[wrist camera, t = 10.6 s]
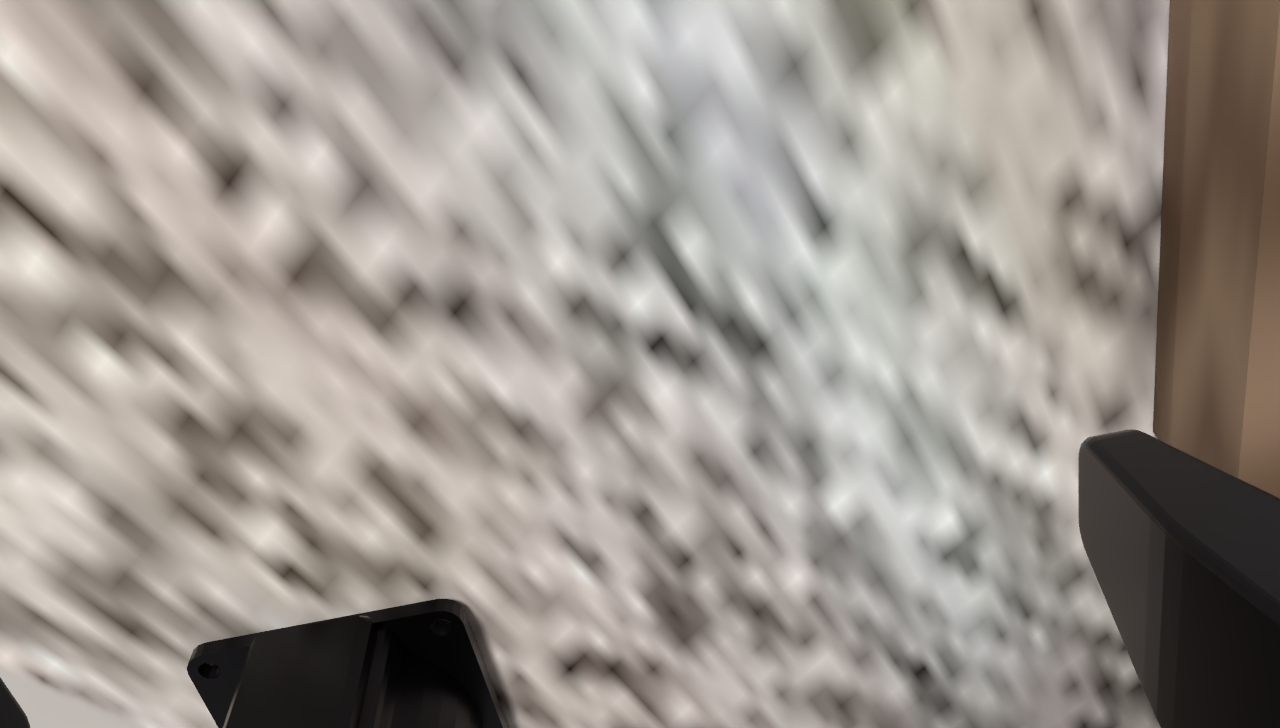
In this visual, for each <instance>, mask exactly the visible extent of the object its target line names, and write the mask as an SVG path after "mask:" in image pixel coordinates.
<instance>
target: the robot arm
mask: <svg viewBox="0 0 1280 728" xmlns="http://www.w3.org/2000/svg"><path fill="white" fill-rule="evenodd" d="M1079 527H1080V533H1081V538H1082V542H1083V545H1084V548H1085V551H1086V553H1087V556H1088V558H1089V561H1090V563H1091V565H1092V568H1093V570H1094V572H1095V575H1096V577H1097V580H1098V582H1099V584H1100V587H1101V589H1102V592H1103V594H1104V596H1105V599H1106V601H1107V604H1108V606H1109V608H1110V611H1111V613H1112V615H1113V618H1114V620H1115V623H1116V625H1117V627H1118V630H1119V632H1120V635H1121V637H1122V639H1123V642H1124V644H1125V647H1126V649H1127V651H1128V654H1129V656H1130V658H1131V661H1132V663H1133V666H1134V668H1135V670H1136V673H1137V675H1138V678H1139V680H1140V682H1141V685H1142V687H1143V689H1144V692H1145V694H1146V696H1147V699H1148V701H1149V703H1150V705H1151V708H1152V710H1153V712H1154V714H1155V717H1156V719H1157V721H1158V723H1159V724H1160V726H1161V728H1280V498H1278V497H1276V496H1274V495H1272V494H1270V493H1268V492H1266V491H1264V490H1262V489H1260V488H1258V487H1256V486H1253V485H1251V484H1249V483H1247V482H1245V481H1243V480H1241V479H1239V478H1237V477H1235V476H1233V475H1231V474H1229V473H1227V472H1224V471H1222V470H1220V469H1218V468H1216V467H1214V466H1212V465H1210V464H1208V463H1206V462H1204V461H1202V460H1200V459H1198V458H1196V457H1193V456H1191V455H1189V454H1187V453H1185V452H1183V451H1181V450H1179V449H1177V448H1175V447H1173V446H1171V445H1169V444H1167V443H1165V442H1162V441H1160V440H1158V439H1156V438H1154V437H1152V436H1150V435H1148V434H1146V433H1144V432H1141V431H1138V430H1124V431H1119V432H1113V433H1108V434H1103V435H1098V436H1093V437H1089V438H1087V439H1086V440H1085V441H1084V442H1083V443H1082V444H1081V447H1080V451H1079ZM438 619H446V620H448V621H450V622H449V623H439V622H437V621H435V620H438ZM207 663H213V664H215V665H217V666H211V665H209V664H207ZM187 671H188V674H189V676H190V678H191V680H192V682H193V683H194V685H195V687H196V689H197V690H198V692H199V694H200V696H201V697H202V699H203V701H204V703H205V705H206V706H207V708H208V710H209V712H210V713H211V715H212V717H213V719H214V720H215V722H216V724H217V726H218V728H509V727H508V725H507V722H506V719H505V717H504V714H503V711H502V709H501V706H500V703H499V701H498V698H497V695H496V693H495V690H494V687H493V685H492V682H491V679H490V677H489V674H488V671H487V669H486V666H485V663H484V661H483V658H482V655H481V653H480V650H479V647H478V645H477V642H476V639H475V637H474V634H473V631H472V629H471V626H470V623H469V621H468V618H467V615H466V613H465V611H464V609H463V608H462V606H461V605H460V604H458V603H457V602H455V601H453V600H449V599H435V600H430V601H425V602H419V603H414V604H409V605H404V606H398V607H393V608H388V609H382V610H377V611H372V612H366V613H361V614H356V615H350V616H345V617H340V618H334V619H329V620H324V621H318V622H313V623H308V624H303V625H297V626H292V627H287V628H281V629H276V630H271V631H265V632H260V633H255V634H249V635H244V636H239V637H233V638H228V639H223V640H217V641H212V642H207V643H204V644H201V645H198V646H197V647H196V648H195V649H194V650H193V653H192V655H191V658H190V660H189V663H188V667H187ZM0 728H30V725H29V722H28V719H27V716H26V715H25V713H24V711H23V710H22V708H21V707H20V705H19V704H18V702H17V701H16V700H15V698H14V697H13V696H12V694H11V692H10V691H9V689H8V688H7V687H6V685H5V684H4V682H3V681H2V679H1V678H0Z"/></svg>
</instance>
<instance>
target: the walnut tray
mask: <svg viewBox="0 0 1280 728" xmlns="http://www.w3.org/2000/svg"><path fill="white" fill-rule="evenodd" d="M1153 432H1154V433H1155V434H1156V435H1157V437H1158V438H1159V439H1160V441H1162V442H1165V443H1167V444H1169V445H1171V446H1173V447H1175V448H1177V449H1179V450H1181V451H1183V452H1185V453H1187V454H1189V455H1191V456H1193V457H1196V458H1198V459H1200V460H1202V461H1204V462H1206V463H1208V464H1210V465H1212V466H1214V467H1216V468H1218V469H1220V470H1222V471H1224V472H1227V473H1229V474H1231V475H1233V476H1235V477H1237V478H1239V479H1241V480H1243V481H1245V482H1247V483H1249V484H1251V485H1253V486H1256V487H1258V488H1260V489H1262V490H1264V491H1266V492H1268V493H1270V494H1272V495H1274V496H1276V497H1278V498H1280V0H1170V21H1169V47H1168V72H1167V97H1166V122H1165V147H1164V172H1163V197H1162V222H1161V247H1160V272H1159V297H1158V322H1157V347H1156V372H1155V397H1154V422H1153Z"/></svg>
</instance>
